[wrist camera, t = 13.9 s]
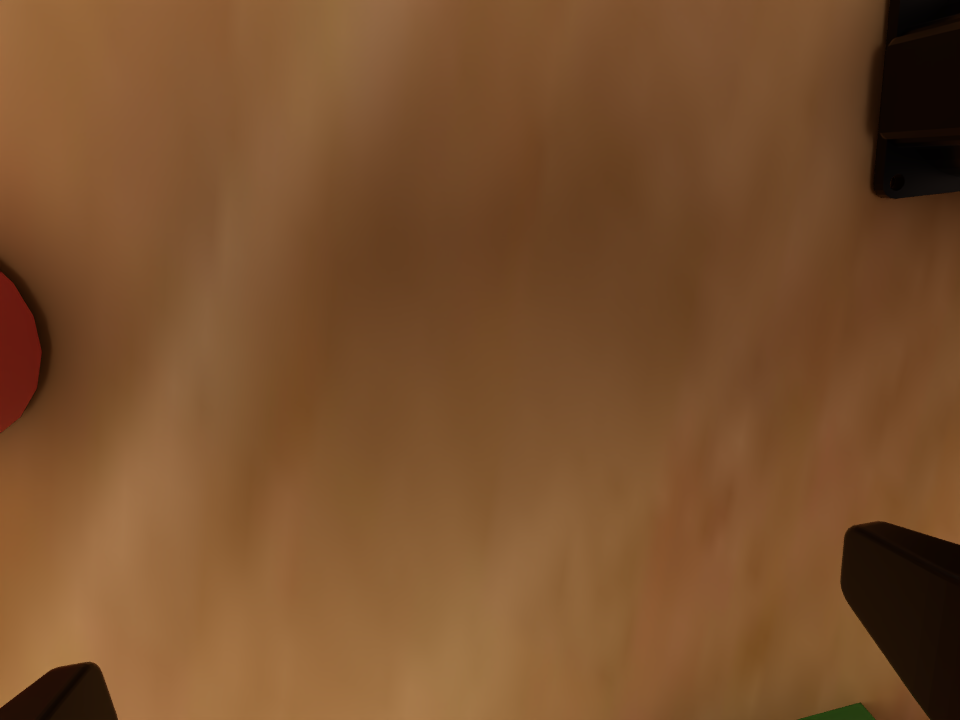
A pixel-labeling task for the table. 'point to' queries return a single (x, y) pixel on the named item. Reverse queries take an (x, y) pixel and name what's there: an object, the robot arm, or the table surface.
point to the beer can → (16, 354)
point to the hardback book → (844, 714)
